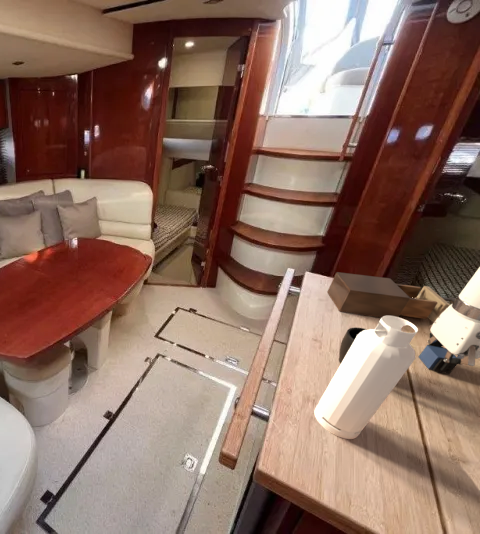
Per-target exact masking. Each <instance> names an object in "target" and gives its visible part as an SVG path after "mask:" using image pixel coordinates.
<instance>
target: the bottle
mask: <svg viewBox="0 0 480 534" xmlns="http://www.w3.org/2000/svg"><path fill="white" fill-rule="evenodd" d="M406 326H410V327H411V328H412V329H413V330H414V332H406V331H402V328H403V327H406ZM418 332H419V328H418V327H417V325H415V324H414V323H412V322H411V321H410V320H407V319H404V318H402V317H399V316H398V317H395V316H383V317H382V318H380V320H379V321H378V323H377V325H376V326H375V328H369V329H368V328H367V330H364V331H362V332H360V333H359V334H358V335H357V337H356V338H355V340H354V342H353V344H352V345H351V347H350V349H349V351H348V352H347V354H346V356H345V357H344V359H343V361H342V363H341V364H340V363H339V364H340V365H339V366H338V368H337V369H336V372H335V374H334V375H333V377H332V378H331V380H330V382H329V384H328V386H327V387H326V389H325V391H324V392H323V394H322V396H321V397H320V399H319V401H318V403H317V404H316V406H315V408H314V411H313V413H314V417H315V419H316V421H317V422H318V424H320V426H321V427H323V429H324V430H326V431H327V432H329V433H330V434H332V435H334V436H335V437H339V438H342V439H345V440H347V439H348V440H352V439H356V438H358V437H359V436H360V434H361V433H362V432H363V429H365V427H366V426H367V424H369V422H370V421H371V419H372V418H373V417H374V416H375V414H376V413H377V411H378V410H379V408H381V406H382V405H383V403H384V402H385V401H386V399H387V398H388V397H389V395H390V394H391V392H392V391H393V390H394V388H395V387H396V386H397V384H398V383H399V381H400V380H401V379H402V378H403V376H404V375H405V374H406V372H407V371H408V370H409V368H410V367H411V365H412V364H413V363H414V361H415V360H416V350H415V349H414V348H413V346H412V345H411V344H410V343H411V342H412V341H413V339H414V338H415V336H416V335H417V333H418Z"/></svg>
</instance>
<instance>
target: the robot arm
mask: <svg viewBox="0 0 480 534" xmlns="http://www.w3.org/2000/svg"><path fill="white" fill-rule="evenodd" d="M428 329H429V338H428V340H427V345H429V346H435V347H441V348H446V349H447V350H448V351H447V353H446V355H445V357H444V359H440V360H439V362H438V363H437V364H436V365H435V367H434V368H433V370H432V371H434V372H435V373H440V374H446V375H450V374H451V373H452V372H453V370H454V369H455V368H456V367H457V366H458V365H459V366H461V365H466V366H470V367H475V365H476V360H477V359H478V360H479V359H480V266H479V267H478V268H477V270H476V271H475V272H474V274H473V275H472V277H471V278H470V279H469V280H468V282H467V284H466V285H465V286H464V288H463V289H461V292H460V293H459V294H458V296H457V297H456V300H455V301H454V303H451V304H450V306H449V307H448V308H447V309H446V310H445V311H444V312H443V313H442V314H441V315H440V316H439V317H438V318H437V319H436V321H435V322H432V324H429V325H428ZM453 354H454V355H455V356H456V357H457V358H452V357H453Z"/></svg>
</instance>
